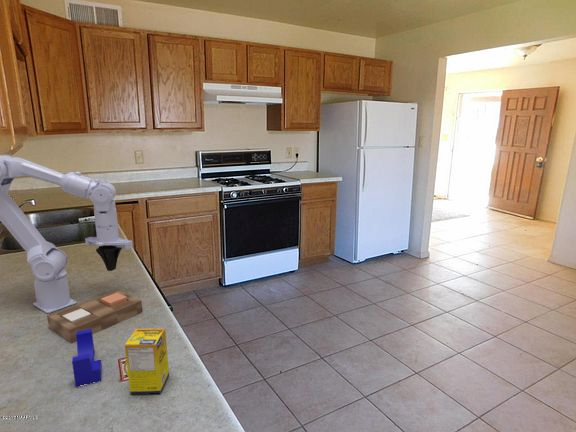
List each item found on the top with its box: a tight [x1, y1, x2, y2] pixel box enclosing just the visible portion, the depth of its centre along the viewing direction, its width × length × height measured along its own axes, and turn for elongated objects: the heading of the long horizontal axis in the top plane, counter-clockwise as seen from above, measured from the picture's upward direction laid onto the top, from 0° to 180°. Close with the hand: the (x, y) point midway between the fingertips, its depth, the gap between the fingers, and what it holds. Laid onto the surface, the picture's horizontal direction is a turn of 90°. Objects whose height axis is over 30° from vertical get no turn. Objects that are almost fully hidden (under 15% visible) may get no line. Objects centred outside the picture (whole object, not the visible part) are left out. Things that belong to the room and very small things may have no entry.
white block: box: [62, 309, 91, 323], centre depth 95 cm, size 5×5×4 cm
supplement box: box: [124, 327, 170, 395], centre depth 73 cm, size 6×6×11 cm
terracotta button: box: [101, 293, 127, 307], centre depth 103 cm, size 5×5×4 cm
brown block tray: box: [46, 289, 143, 344], centre depth 99 cm, size 12×19×4 cm, turn 145°
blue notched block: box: [71, 329, 103, 387], centre depth 79 cm, size 12×4×6 cm, turn 25°
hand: (111, 269), depth 109 cm, fingers closed
